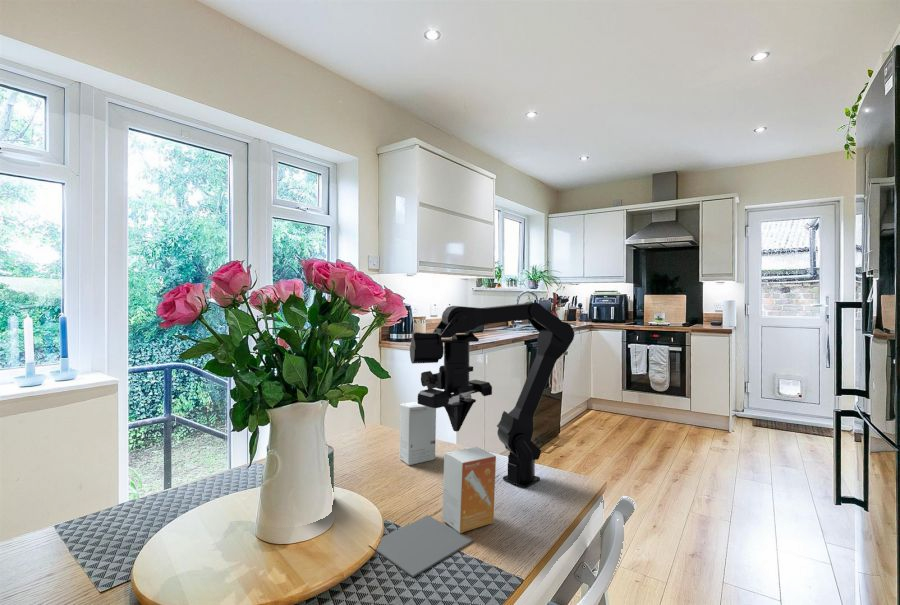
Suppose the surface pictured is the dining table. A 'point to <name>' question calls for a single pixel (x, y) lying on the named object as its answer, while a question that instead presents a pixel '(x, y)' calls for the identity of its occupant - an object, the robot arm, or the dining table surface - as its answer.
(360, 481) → the dining table surface
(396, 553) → the mat
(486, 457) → the small box
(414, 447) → the skincare box
